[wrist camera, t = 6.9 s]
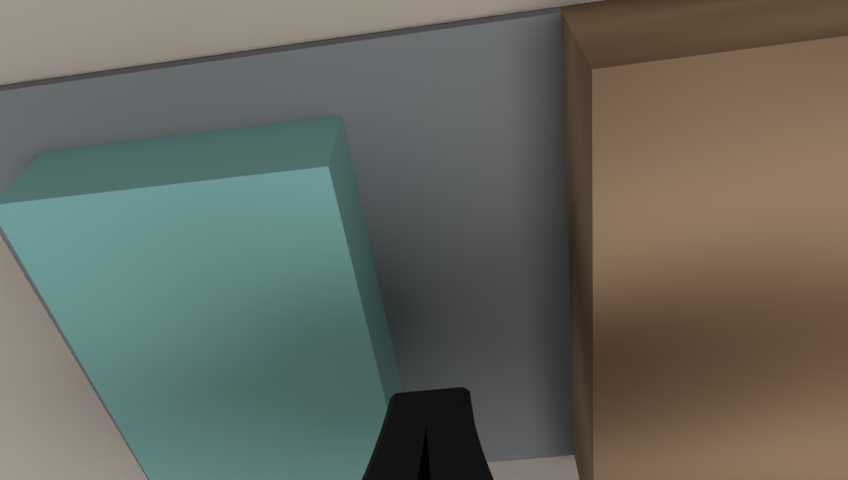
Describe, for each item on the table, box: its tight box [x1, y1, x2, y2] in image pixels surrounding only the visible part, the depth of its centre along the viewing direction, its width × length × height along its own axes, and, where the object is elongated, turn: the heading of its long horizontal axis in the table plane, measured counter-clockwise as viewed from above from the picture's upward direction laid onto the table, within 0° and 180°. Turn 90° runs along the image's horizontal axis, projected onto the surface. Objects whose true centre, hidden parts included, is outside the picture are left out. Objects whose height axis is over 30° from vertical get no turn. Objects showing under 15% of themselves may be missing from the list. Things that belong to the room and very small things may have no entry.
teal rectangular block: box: [0, 116, 403, 480], centre depth 15 cm, size 9×6×2 cm, turn 8°
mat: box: [0, 8, 575, 480], centre depth 16 cm, size 12×12×1 cm
